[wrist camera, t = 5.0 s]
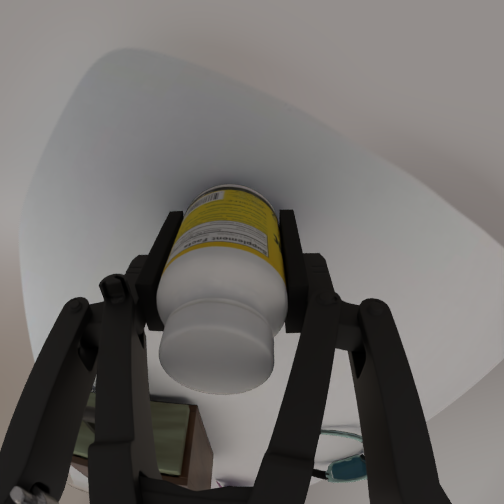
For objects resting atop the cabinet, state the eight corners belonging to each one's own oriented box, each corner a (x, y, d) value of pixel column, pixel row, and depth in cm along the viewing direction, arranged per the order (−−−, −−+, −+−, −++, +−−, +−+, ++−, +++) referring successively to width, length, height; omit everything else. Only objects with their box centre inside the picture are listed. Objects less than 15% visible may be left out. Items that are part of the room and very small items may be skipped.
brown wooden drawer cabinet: (87, 391, 32) (64, 459, 24) (197, 405, 32) (187, 486, 23) (127, 444, 40) (115, 497, 32) (213, 454, 40) (209, 512, 32)
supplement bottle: (263, 271, 20) (264, 412, 12) (179, 250, 20) (135, 386, 11) (292, 196, 17) (320, 332, 9) (196, 170, 17) (138, 291, 8)
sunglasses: (344, 465, 44) (344, 489, 39) (267, 447, 42) (264, 475, 38) (403, 430, 37) (407, 459, 32) (320, 409, 35) (319, 443, 31)
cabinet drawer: (66, 363, 28) (39, 425, 21) (179, 377, 27) (165, 453, 21) (123, 442, 38) (113, 487, 31) (206, 453, 38) (201, 502, 31)
